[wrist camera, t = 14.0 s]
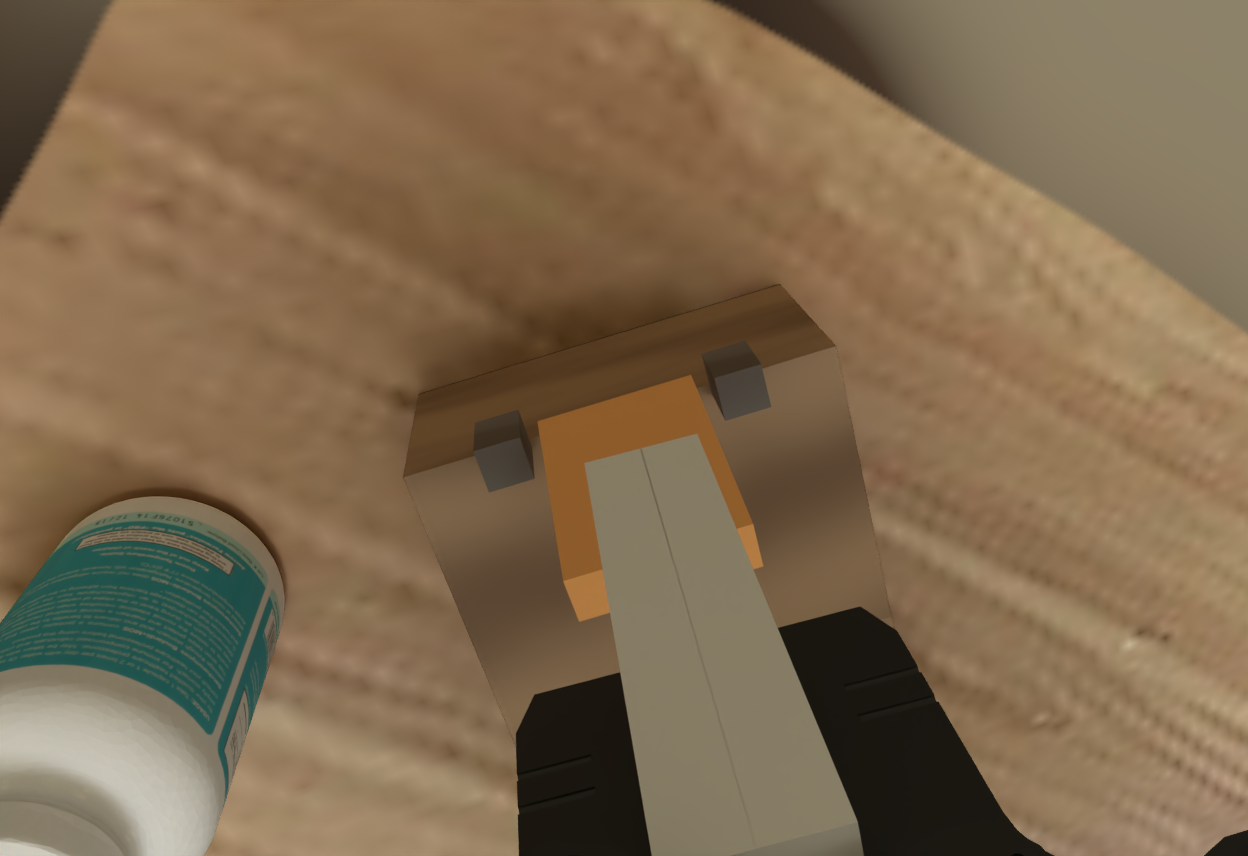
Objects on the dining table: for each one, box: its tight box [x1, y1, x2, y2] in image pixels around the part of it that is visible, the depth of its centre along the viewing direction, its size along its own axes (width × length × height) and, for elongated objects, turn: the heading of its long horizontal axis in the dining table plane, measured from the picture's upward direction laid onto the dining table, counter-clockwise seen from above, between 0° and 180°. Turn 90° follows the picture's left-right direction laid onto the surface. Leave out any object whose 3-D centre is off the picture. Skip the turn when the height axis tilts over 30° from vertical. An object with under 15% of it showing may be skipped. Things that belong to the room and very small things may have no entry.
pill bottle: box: [0, 496, 285, 856], centre depth 29 cm, size 8×7×14 cm
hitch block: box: [403, 285, 894, 746], centre depth 33 cm, size 17×12×8 cm
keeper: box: [537, 375, 763, 622], centre depth 24 cm, size 6×4×1 cm
